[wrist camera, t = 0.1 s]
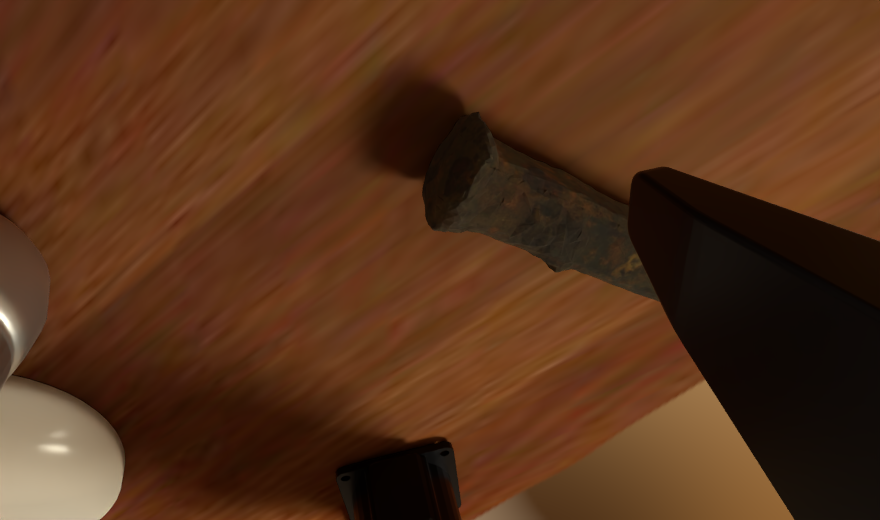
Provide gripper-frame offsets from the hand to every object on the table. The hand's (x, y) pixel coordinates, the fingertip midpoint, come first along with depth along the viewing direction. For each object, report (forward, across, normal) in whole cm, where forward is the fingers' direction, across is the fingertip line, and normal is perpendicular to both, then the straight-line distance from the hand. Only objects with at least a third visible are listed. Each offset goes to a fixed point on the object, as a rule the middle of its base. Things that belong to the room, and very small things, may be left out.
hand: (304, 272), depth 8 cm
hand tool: (+15, -12, +12) cm, 23 cm away
